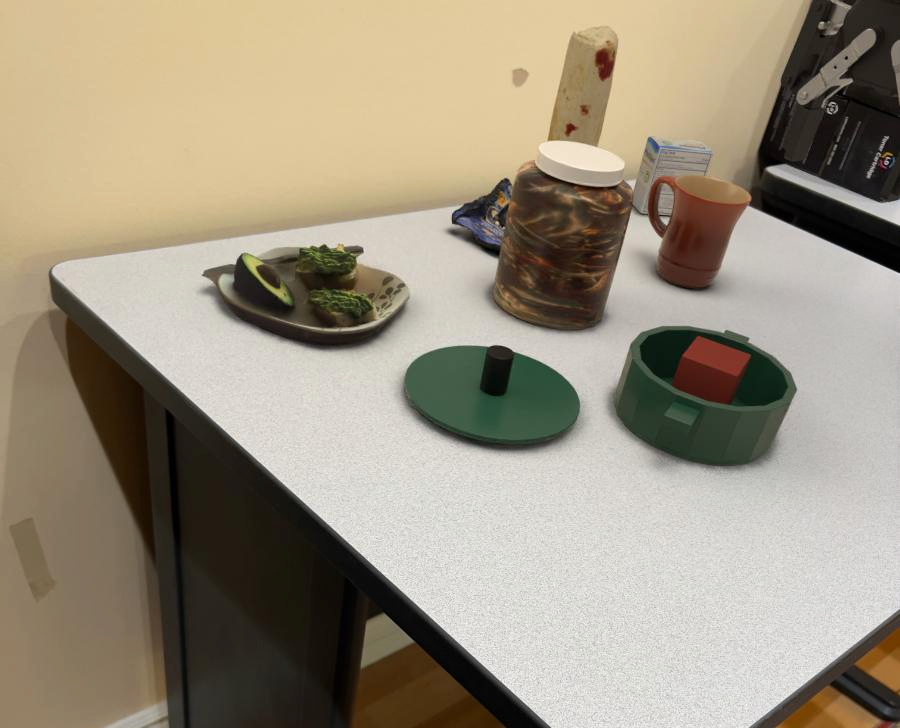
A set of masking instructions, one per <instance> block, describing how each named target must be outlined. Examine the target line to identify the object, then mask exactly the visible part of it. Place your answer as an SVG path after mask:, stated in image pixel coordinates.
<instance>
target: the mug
mask: <svg viewBox="0 0 900 728" xmlns="http://www.w3.org/2000/svg"><path fill="white" fill-rule="evenodd" d="M664 183H665V184H667V185H668V186H670V188H671V190H672V192H673V193H674V198H673V207H672V212H671V215H669V219H668V221H667V224H666V223H664V221H663V220H662V219H661V217H660V215H659V212H658V204H659V197H660V193H661V189H662V187H663V185H664ZM751 202H752V195H751V194H750V193H749V192H748V190H746V189H744V188H743V187H741V186H739V185H737V184H736V183H732V182H730V181H727V180H725V179H720V178H717V177H712V176H708V175H706V176H702V175H691V174H690V175H681V176H678V177H676V178H675V177H672V176H662V177H659V178H658V179H656V180H655V181H654V183H653V185H652V187H651V190H650V193H649V198H648V214H647V216H648V220H649V223H650V225H651V228H652V229H653V230H654V232H655V233H656V235H657V236H658V237H659V238H661V239H662V240H661V242H660V246H659V248H658V255H657V257H656V258H657V259H656V270H657V272H658V274H659V275H660V277H662V278H663V279H664V280H666V281H667V282H668V283H671V284H673V285H676V286H678V287H681V288H686V289H702V288H705V287H707V286H710V285H711V284H713V283H714V281H715V279H716V277H717V276H718V274H719V272H720V270H721V269H722V266H723V262H724V259H725V256H726V253H727V251H728V247H729V244H730V241H731V238H732V234H733V232H734V229H735V227H736V225H737V223H738V221H739V220H740V219H741V216H742V215H743V213H744V212H745V211H746V209H747V208H748V207H749V205H750V203H751Z"/></svg>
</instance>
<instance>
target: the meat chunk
mask: <svg viewBox="0 0 900 728" xmlns="http://www.w3.org/2000/svg"><path fill="white" fill-rule="evenodd" d="M750 357H751V355H750V354H747V353H744V352H742V351H739V350H736V349H733V348H731V347H728V346H725V345H722V344H719V343H717V342H714V341H711V340H708V339H706V338H703V337H700V336H697V338H696V339H695V340H694V342H693V343H692V344H691V345H690V347H689V348H688V349H687V350H686V352H685V353H684V354H683V356H682V357H681V360H680V363H679V366H678V369H677V372H676V374H675V377H674V380H673V383H672V386H673V387H674V388H676V389H677V390H680V391H682V392H685V393H688V394H690V395H693V396H696V397H698V398H701V399H704V400H706V401H710V402H715V403H721V404H726V405H731V403H732V401H733V398H734V396H735V394H736V391H737V389H738V386H739V384H740V382H741V379H742V377H743V374H744V372H745V369H746V367H747V365H748V362H749V360H750Z"/></svg>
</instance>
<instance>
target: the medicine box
mask: <svg viewBox="0 0 900 728" xmlns="http://www.w3.org/2000/svg"><path fill="white" fill-rule="evenodd" d="M643 150H644V151H643V154H642V158H641V162H640V165H639V169H638V172H637V176H636V179H635V182H634V186H633V193H634V199H633V205H632V206H634V208H635V209H636V210H637V211H638V212H639V213H640V214H643V215H648V198H649V193H650V190H651V187H652V185H653V183H654V181H655V180H656V179H658V178H659V177H662V176H672V177H675V178H676V177H678V176H681V175H690V174H691V175H702V176H708V175H707V174H708V171H709V168H710V165H711V162H712V160H713V157H714V152H713V151H712V150H711V148H709V146H707V145H706V144H705V143H704V142H702V141H701V140H695V139H687V138H676V137H663V136H653V135H652V136H651V135H650V136H647V140H646V144H645V147H644V149H643ZM673 198H674V193H673V192H672V190H671V188H670V186H668V185H667V184H665V183H664V185H663V187H662V189H661V193H660V197H659V204H658V212H659V216H660V215H661V216H671V212H672V207H673Z"/></svg>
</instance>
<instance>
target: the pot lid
mask: <svg viewBox="0 0 900 728" xmlns="http://www.w3.org/2000/svg"><path fill="white" fill-rule="evenodd" d="M403 384H404V391H405V394H406V396H407V398H408V400H409V401H410V403H411V405H413V407H414V409H416V410H417V411H418V412H419V413H420V414H421V415H423V416H424V417H425V418H426V419H428V420H429V421H431V422H432V423H434V424H436V425H438V426H439V427H441V428H444V429H445V430H447V431H450V432H452V433H455V434H458V435H460V436H463V437H466V438H469V439H473V440H477V441H482V442H485V443H486V442H487V443H493V444H502V445H503V444H504V445H530V444H537V443H542V442H545V441H549V440H553V439H555V438H558V437H560V436H562V435H563V434H565V433H566V432H568V431H569V430H570V429H571V428H572V427H573V426H575V424H576V422H577V420H578V417H579V415H580V412H581V401H580V397H579V394H578V392H577V390H576V389H575V387H574V386H573V385H572V383H571V382H570V381H569V380H568V379H567V378H566V377H565V376H563V374H561V373H560V372H558V371H557V370H555V369H554V368H552V367H551V366H550V365H547V364H546V363H544V362H542V361H540V360H537V359H536V358H533V357H531V356H528V355H525V354H522V353H519V352H516V351H513V349H511V348H510V347H508V346H506V345H499V344H493V345H490V346H486V345H485V346H484V345H471V344H470V345H467V344H465V345H451V346H445V347H441V348H436V349H433V350H430V351H428V352H425V353H423V354H420V356H418V357H416V358H415V359H414V360H412V362H411V363H410V364H409V366H408V367H407V368H406V371H405V374H404V381H403Z"/></svg>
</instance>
